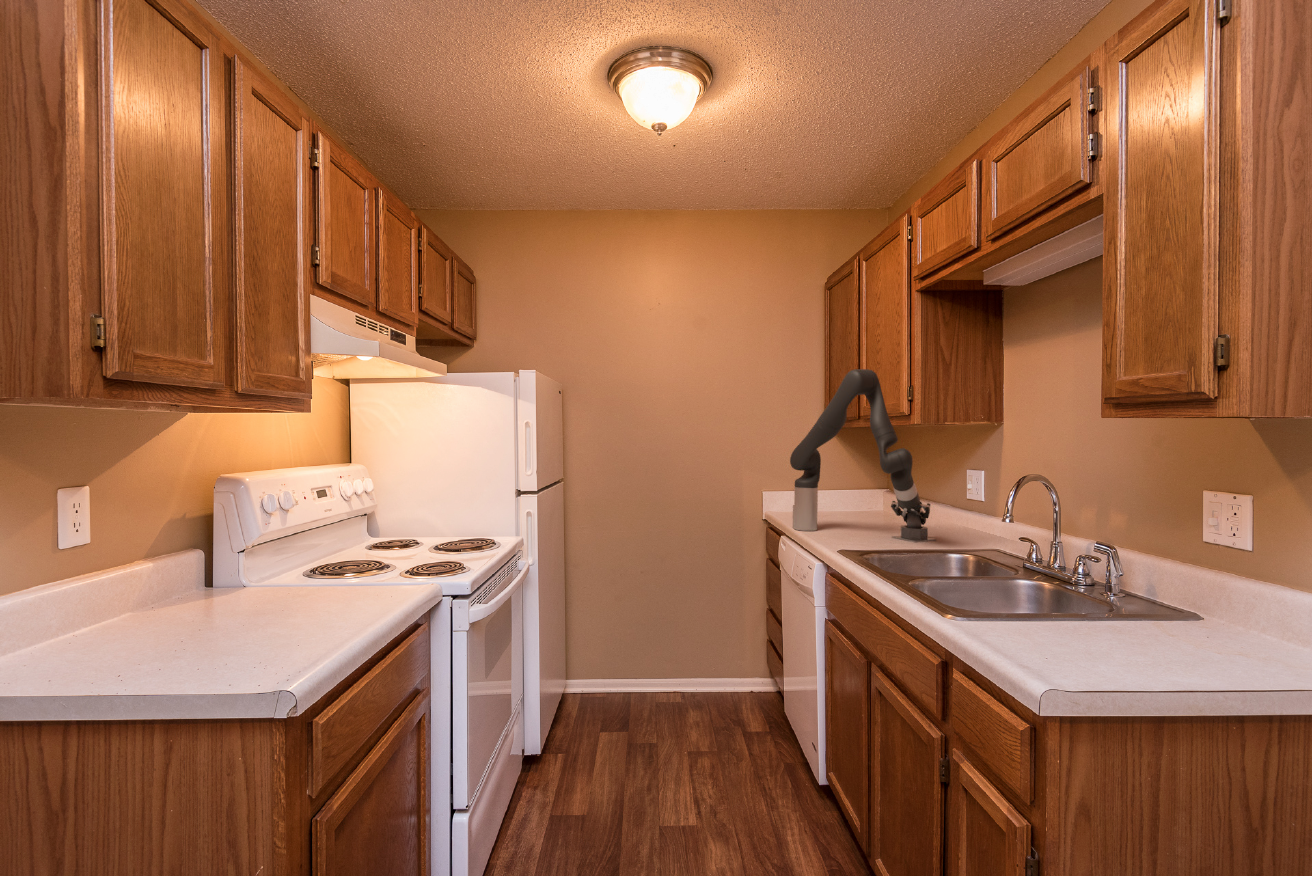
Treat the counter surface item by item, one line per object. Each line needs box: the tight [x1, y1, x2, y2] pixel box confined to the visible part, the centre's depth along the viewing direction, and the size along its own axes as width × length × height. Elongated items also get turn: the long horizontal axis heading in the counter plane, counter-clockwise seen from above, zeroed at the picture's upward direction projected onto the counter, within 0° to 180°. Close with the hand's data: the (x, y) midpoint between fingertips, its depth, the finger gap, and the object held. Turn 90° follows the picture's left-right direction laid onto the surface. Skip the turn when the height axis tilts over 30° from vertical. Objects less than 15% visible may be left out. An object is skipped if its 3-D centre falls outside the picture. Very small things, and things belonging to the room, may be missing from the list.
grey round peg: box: [906, 512, 922, 528], centre depth 233 cm, size 5×5×10 cm
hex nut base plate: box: [891, 524, 938, 543], centre depth 233 cm, size 11×11×4 cm
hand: (915, 522), depth 234 cm, fingers closed on grey round peg, 5 cm apart
